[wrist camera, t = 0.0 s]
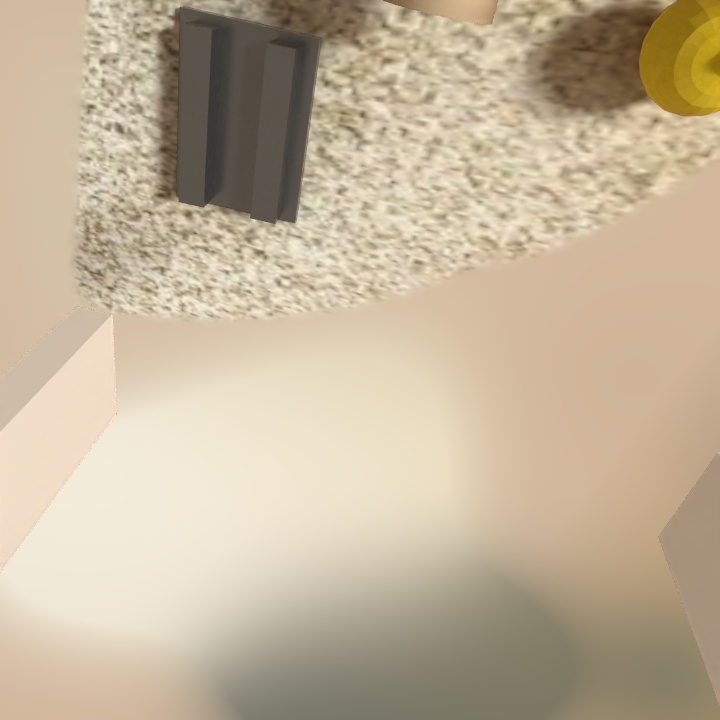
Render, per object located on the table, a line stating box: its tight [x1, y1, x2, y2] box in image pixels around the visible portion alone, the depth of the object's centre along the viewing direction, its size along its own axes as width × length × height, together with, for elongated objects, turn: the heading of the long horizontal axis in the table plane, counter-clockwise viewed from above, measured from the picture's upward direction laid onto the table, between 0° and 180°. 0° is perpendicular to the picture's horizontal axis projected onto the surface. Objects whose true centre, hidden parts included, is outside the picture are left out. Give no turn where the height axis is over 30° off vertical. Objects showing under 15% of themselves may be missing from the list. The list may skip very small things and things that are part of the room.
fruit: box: [639, 0, 720, 116], centre depth 29 cm, size 6×6×8 cm
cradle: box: [176, 6, 322, 224], centre depth 37 cm, size 11×8×3 cm
